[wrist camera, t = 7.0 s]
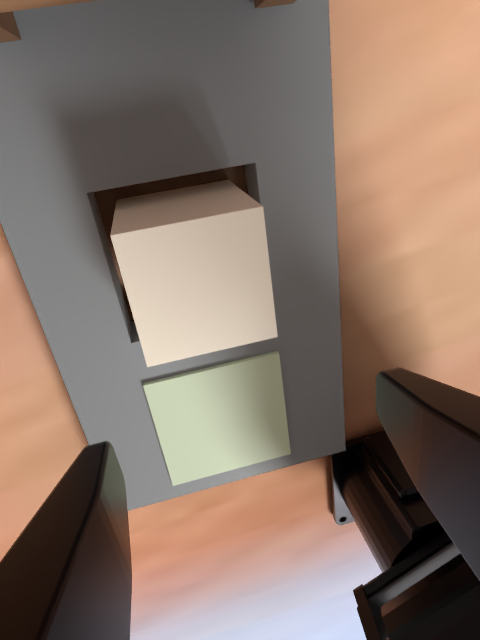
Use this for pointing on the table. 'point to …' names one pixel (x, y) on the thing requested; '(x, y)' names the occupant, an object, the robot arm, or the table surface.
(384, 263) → the table surface
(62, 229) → the board
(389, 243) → the table surface
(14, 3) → the slide cover
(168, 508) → the table surface
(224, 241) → the block
